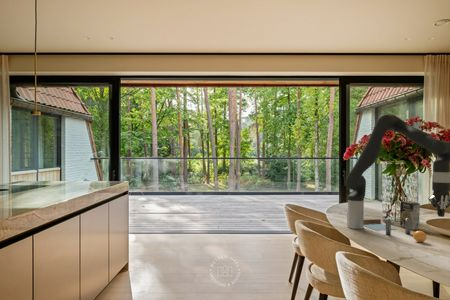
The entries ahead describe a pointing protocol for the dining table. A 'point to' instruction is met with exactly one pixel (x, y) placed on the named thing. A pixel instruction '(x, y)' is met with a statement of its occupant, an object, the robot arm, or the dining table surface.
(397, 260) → the dining table surface
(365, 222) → the stopper
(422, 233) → the ball
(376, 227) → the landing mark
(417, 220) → the coffee box
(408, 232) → the post
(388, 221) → the post
